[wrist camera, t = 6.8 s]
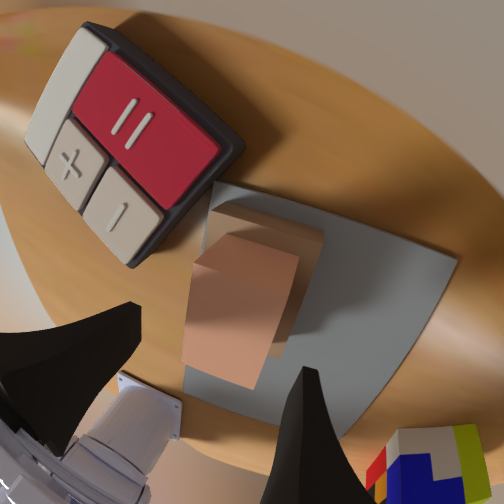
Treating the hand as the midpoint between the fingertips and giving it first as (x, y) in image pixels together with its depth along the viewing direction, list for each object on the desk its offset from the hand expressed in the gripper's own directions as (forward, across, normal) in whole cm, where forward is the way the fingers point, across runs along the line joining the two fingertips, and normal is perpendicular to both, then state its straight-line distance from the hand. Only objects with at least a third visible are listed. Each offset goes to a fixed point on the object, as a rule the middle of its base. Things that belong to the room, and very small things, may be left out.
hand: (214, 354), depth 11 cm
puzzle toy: (+9, -23, +16) cm, 29 cm away
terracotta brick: (+5, 0, 0) cm, 5 cm away
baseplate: (+8, -4, +5) cm, 10 cm away
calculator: (+9, +12, -7) cm, 16 cm away
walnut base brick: (+8, 0, 0) cm, 8 cm away
